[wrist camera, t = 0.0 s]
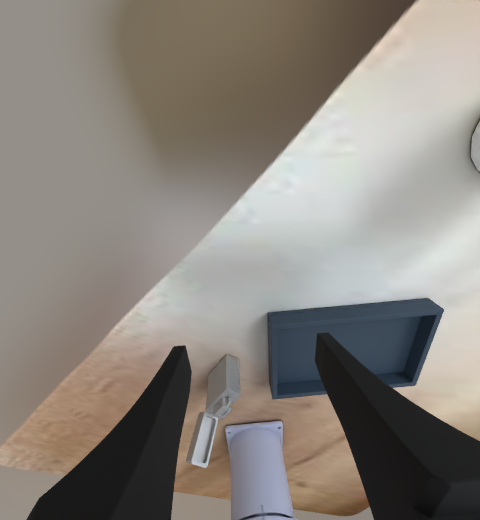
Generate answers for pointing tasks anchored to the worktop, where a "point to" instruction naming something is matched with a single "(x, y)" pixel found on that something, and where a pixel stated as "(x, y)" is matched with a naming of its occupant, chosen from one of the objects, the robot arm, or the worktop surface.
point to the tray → (351, 342)
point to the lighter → (214, 408)
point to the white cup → (476, 147)
